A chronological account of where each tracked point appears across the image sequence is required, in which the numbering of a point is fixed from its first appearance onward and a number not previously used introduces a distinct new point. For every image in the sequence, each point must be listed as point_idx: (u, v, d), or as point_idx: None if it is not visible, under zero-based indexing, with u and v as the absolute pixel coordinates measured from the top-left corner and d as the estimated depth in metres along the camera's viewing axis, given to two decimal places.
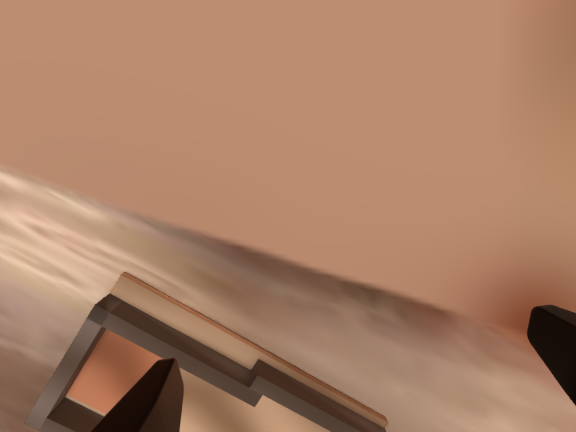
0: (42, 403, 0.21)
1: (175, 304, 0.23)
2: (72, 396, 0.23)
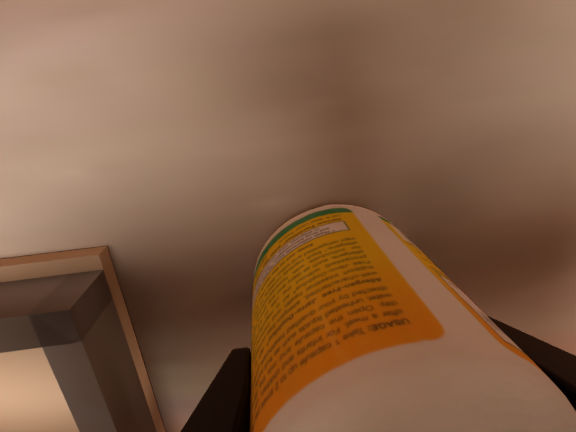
0: None
1: None
2: None
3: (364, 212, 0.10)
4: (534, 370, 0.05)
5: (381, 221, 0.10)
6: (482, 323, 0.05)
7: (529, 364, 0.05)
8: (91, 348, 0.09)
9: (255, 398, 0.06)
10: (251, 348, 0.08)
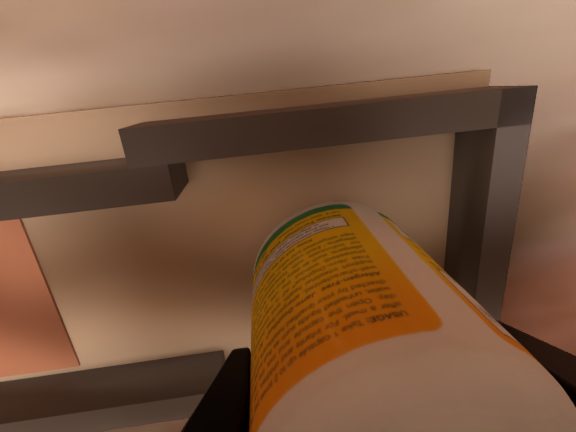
0: None
1: None
2: None
3: (363, 208, 0.10)
4: (531, 361, 0.05)
5: (380, 217, 0.10)
6: (480, 316, 0.05)
7: (526, 355, 0.05)
8: None
9: (254, 391, 0.06)
10: (251, 343, 0.08)
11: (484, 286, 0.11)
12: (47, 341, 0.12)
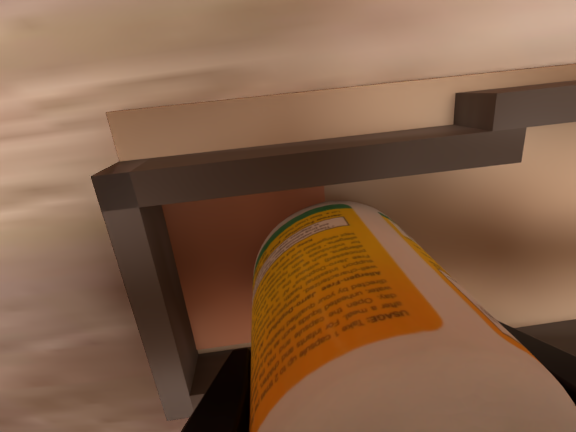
0: (165, 381, 0.11)
1: (239, 98, 0.10)
2: (207, 347, 0.14)
3: (364, 208, 0.10)
4: (532, 361, 0.05)
5: (380, 217, 0.10)
6: (480, 315, 0.05)
7: (527, 355, 0.05)
8: None
9: (255, 391, 0.06)
10: (251, 343, 0.08)
11: None
12: None
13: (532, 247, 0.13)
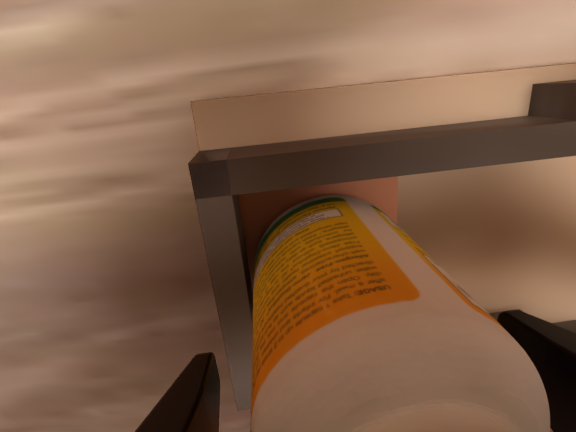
0: (240, 371, 0.11)
1: (321, 88, 0.10)
2: None
3: (357, 201, 0.11)
4: (496, 327, 0.05)
5: (372, 209, 0.10)
6: (455, 290, 0.06)
7: (492, 322, 0.06)
8: None
9: (256, 359, 0.07)
10: None
11: None
12: None
13: None
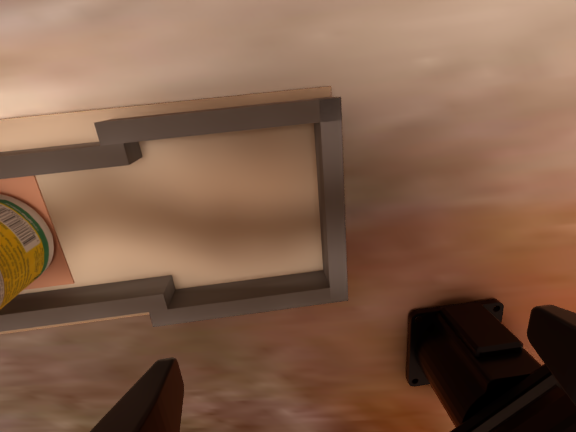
0: None
1: None
2: None
3: None
4: None
5: None
6: None
7: None
8: None
9: None
10: None
11: (331, 224, 0.17)
12: (52, 264, 0.19)
13: (208, 224, 0.19)
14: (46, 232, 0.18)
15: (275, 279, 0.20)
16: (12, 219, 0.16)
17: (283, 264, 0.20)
